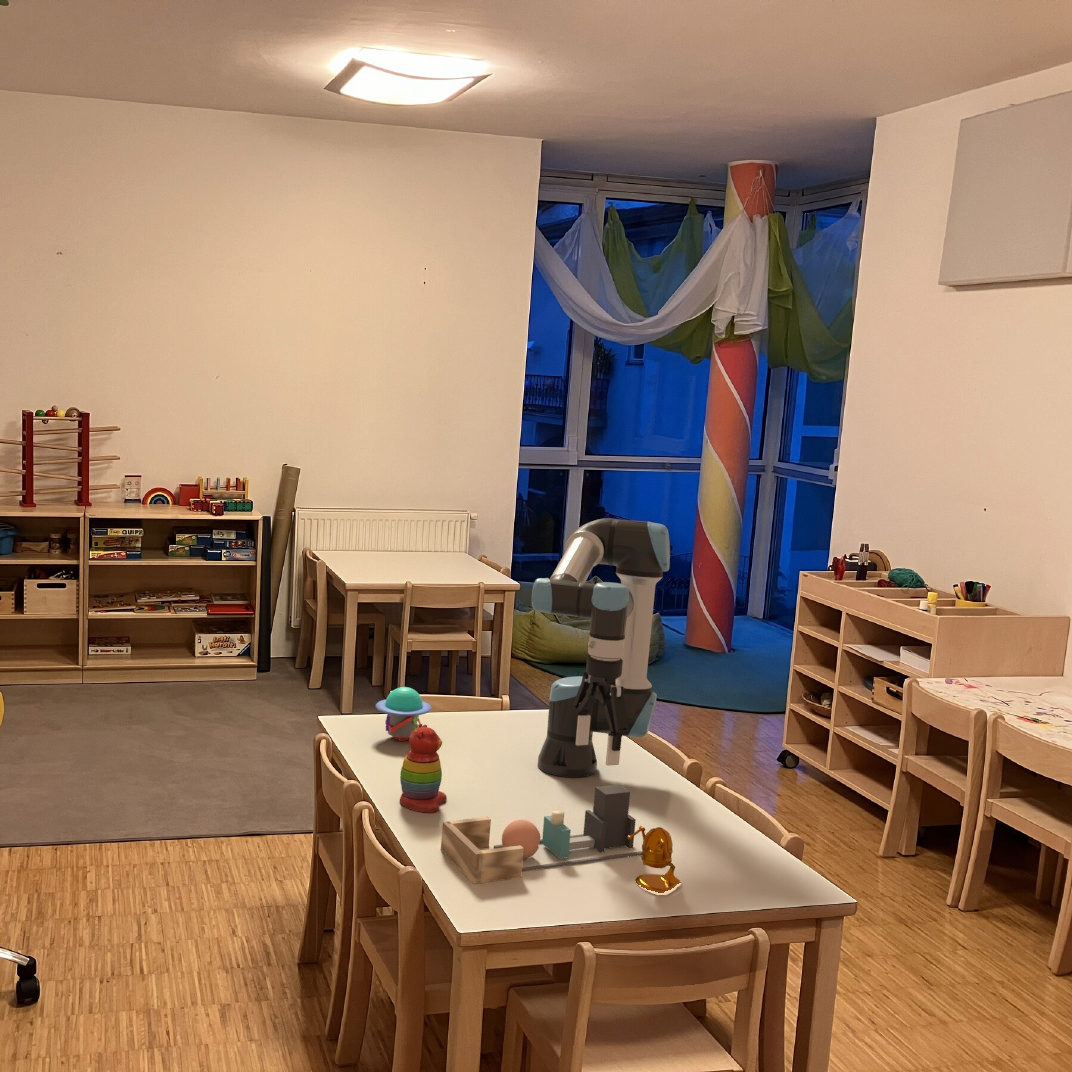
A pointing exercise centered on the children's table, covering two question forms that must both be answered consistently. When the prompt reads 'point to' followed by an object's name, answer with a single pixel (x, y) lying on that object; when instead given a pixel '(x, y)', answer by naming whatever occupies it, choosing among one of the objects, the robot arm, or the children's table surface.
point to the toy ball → (522, 837)
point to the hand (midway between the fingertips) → (596, 754)
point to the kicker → (594, 824)
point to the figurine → (656, 859)
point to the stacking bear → (422, 772)
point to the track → (575, 860)
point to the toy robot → (403, 712)
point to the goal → (479, 851)
